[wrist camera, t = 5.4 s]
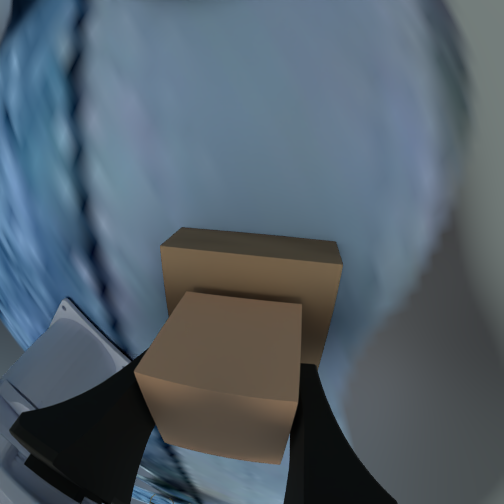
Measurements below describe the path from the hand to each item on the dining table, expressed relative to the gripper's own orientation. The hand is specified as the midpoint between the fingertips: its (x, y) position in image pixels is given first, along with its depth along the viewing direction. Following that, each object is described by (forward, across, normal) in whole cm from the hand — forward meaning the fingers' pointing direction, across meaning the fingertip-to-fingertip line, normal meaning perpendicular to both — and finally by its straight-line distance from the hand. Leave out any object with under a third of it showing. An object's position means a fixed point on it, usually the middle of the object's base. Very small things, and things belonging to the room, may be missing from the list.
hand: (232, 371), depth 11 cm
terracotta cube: (+2, 0, 0) cm, 2 cm away
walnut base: (+6, 0, 0) cm, 6 cm away
